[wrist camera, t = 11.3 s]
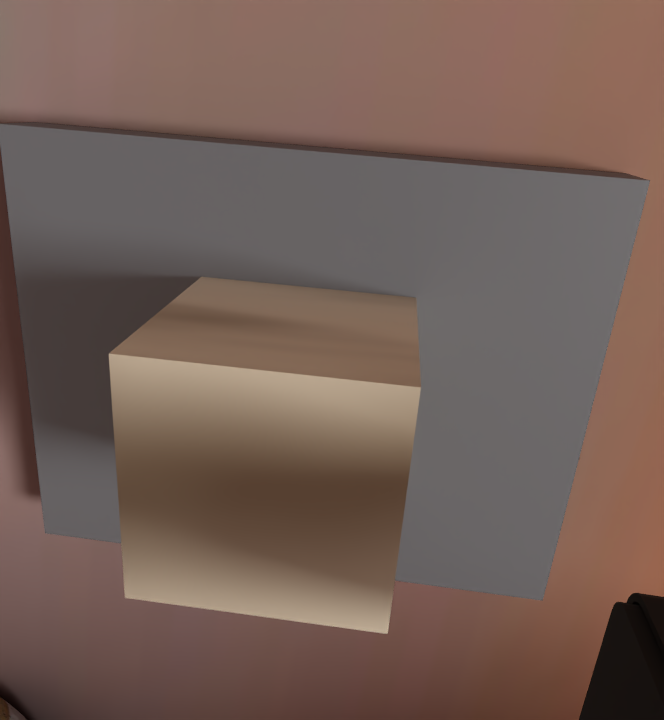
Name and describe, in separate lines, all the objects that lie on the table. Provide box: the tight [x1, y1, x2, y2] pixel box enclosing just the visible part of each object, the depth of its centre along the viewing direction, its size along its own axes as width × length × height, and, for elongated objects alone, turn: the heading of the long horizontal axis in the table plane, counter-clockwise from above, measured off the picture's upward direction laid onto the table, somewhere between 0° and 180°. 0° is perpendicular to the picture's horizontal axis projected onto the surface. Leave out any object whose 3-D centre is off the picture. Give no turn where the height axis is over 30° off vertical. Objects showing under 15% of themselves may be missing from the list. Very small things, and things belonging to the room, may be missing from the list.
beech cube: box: [109, 277, 421, 634], centre depth 13 cm, size 5×5×5 cm
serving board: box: [0, 122, 650, 601], centre depth 16 cm, size 11×14×2 cm
